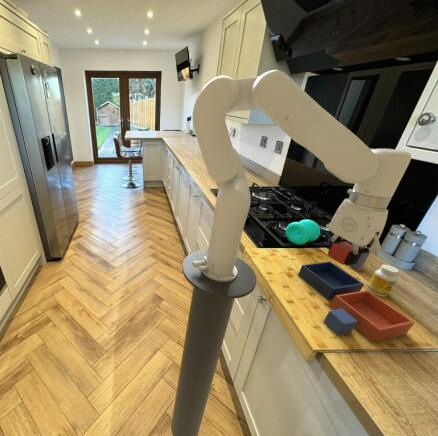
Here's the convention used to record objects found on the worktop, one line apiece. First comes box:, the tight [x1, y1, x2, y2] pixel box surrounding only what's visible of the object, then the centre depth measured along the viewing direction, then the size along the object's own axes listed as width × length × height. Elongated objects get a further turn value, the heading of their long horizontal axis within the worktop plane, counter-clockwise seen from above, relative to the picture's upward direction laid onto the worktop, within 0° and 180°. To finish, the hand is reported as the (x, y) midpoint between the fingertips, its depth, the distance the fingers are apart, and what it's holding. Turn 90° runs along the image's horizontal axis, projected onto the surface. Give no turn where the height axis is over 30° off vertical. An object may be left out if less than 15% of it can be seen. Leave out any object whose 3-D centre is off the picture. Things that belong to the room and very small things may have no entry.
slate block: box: [323, 309, 358, 336], centre depth 64 cm, size 4×4×4 cm
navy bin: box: [298, 260, 365, 301], centre depth 80 cm, size 12×12×4 cm
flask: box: [349, 243, 371, 272], centre depth 90 cm, size 9×3×11 cm, turn 164°
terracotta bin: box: [329, 289, 416, 343], centre depth 67 cm, size 12×12×4 cm
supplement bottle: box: [366, 264, 400, 297], centre depth 76 cm, size 5×5×10 cm
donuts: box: [285, 219, 321, 246], centre depth 104 cm, size 10×10×10 cm
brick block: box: [327, 241, 354, 266], centre depth 67 cm, size 4×4×4 cm
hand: (341, 258), depth 67 cm, fingers closed on brick block, 4 cm apart
